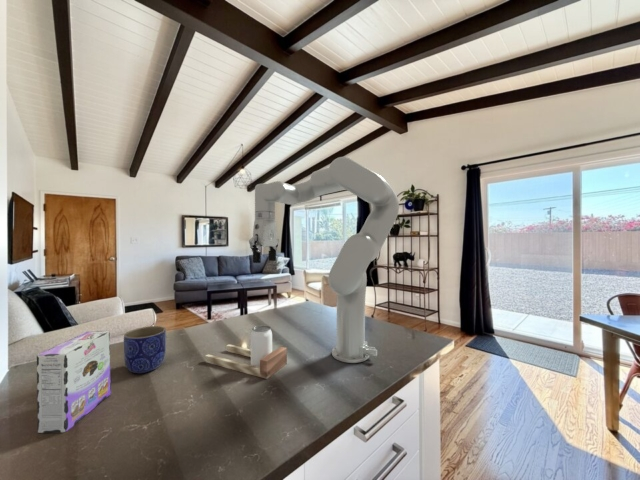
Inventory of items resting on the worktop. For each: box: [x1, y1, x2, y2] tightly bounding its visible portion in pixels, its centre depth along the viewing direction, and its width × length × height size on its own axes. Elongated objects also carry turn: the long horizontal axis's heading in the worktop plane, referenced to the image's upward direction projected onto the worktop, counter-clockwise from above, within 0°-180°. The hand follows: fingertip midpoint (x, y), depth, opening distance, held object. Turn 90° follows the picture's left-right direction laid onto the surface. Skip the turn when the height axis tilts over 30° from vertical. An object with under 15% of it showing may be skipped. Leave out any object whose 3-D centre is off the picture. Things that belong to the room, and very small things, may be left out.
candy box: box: [36, 330, 112, 434], centre depth 64 cm, size 14×6×16 cm, turn 4°
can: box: [250, 325, 273, 368], centre depth 86 cm, size 6×6×12 cm
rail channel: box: [204, 343, 288, 380], centre depth 88 cm, size 24×10×5 cm, turn 64°
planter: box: [123, 325, 167, 374], centre depth 85 cm, size 11×11×11 cm
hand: (264, 261), depth 107 cm, fingers open, 9 cm apart
